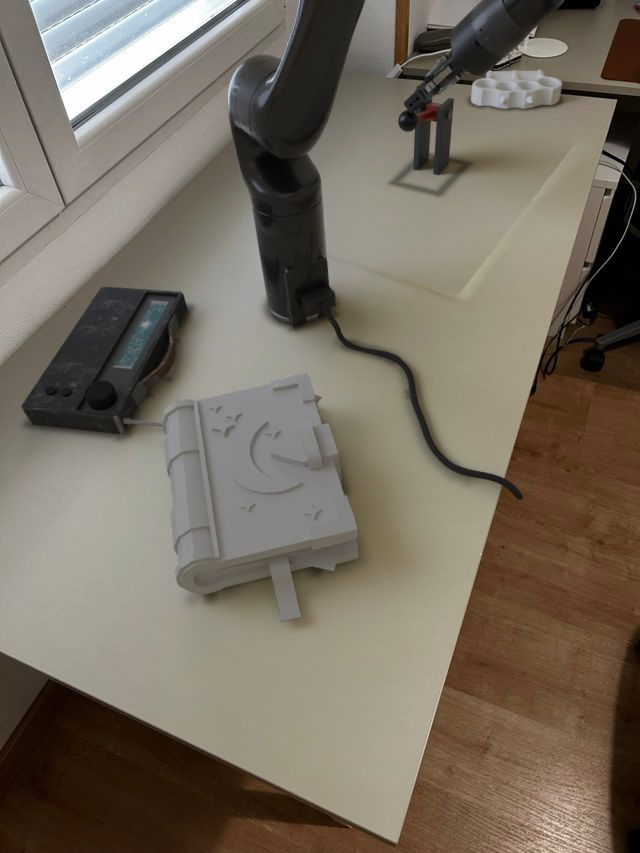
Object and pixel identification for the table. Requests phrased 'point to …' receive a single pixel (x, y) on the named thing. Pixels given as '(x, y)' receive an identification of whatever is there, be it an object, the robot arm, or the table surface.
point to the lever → (417, 117)
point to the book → (256, 490)
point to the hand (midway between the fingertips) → (409, 107)
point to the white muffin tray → (516, 89)
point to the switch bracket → (440, 142)
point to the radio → (109, 361)
